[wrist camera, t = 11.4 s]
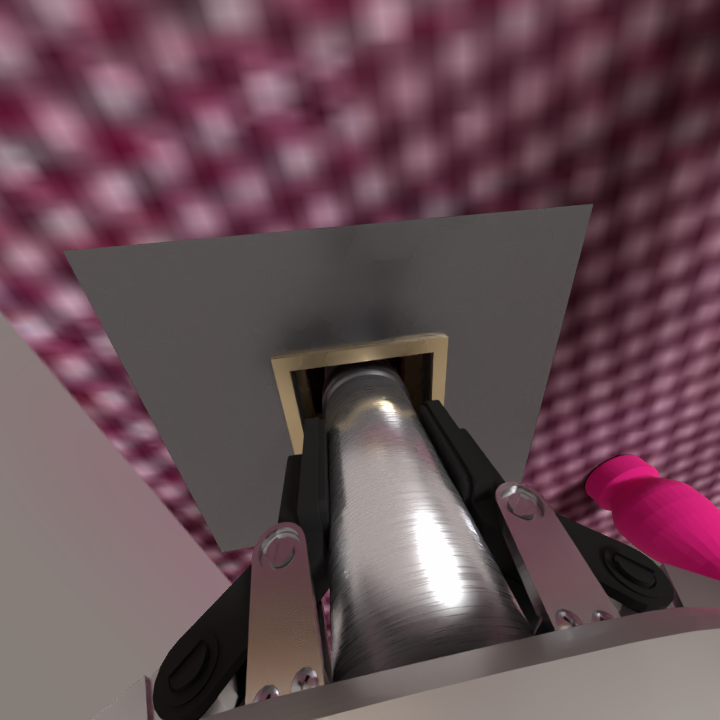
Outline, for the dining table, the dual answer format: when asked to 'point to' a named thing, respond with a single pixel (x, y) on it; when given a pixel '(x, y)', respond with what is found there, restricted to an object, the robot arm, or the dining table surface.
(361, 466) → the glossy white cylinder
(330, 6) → the dining table surface
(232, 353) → the grey square socket block
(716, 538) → the pepper mill
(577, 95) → the dining table surface
